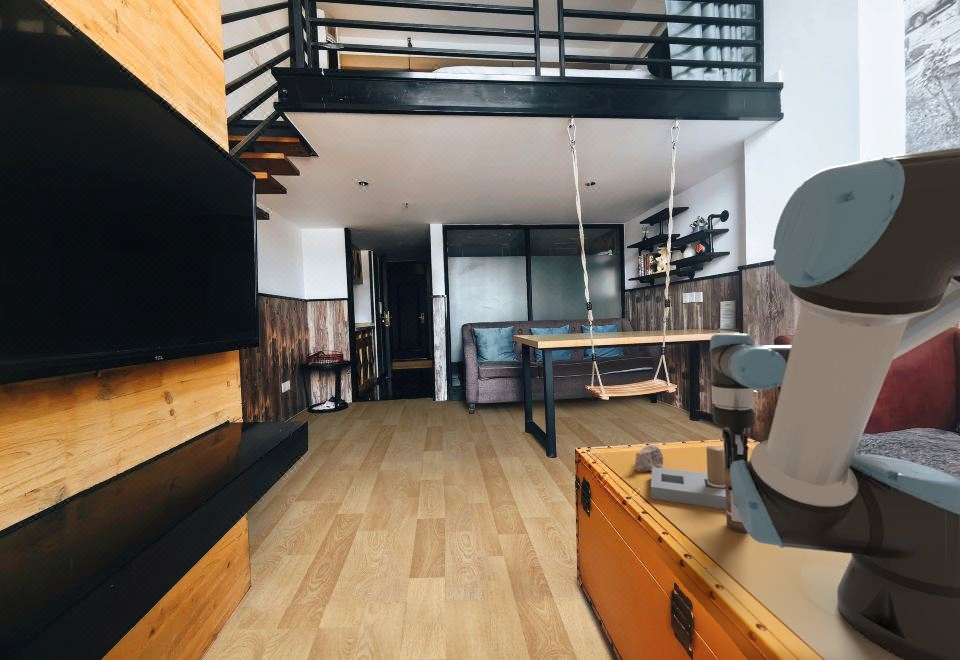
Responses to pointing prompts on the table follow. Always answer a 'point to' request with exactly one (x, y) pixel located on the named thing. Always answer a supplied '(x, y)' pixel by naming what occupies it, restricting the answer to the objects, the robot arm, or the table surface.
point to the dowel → (731, 524)
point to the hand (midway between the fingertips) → (737, 515)
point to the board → (693, 483)
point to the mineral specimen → (648, 459)
